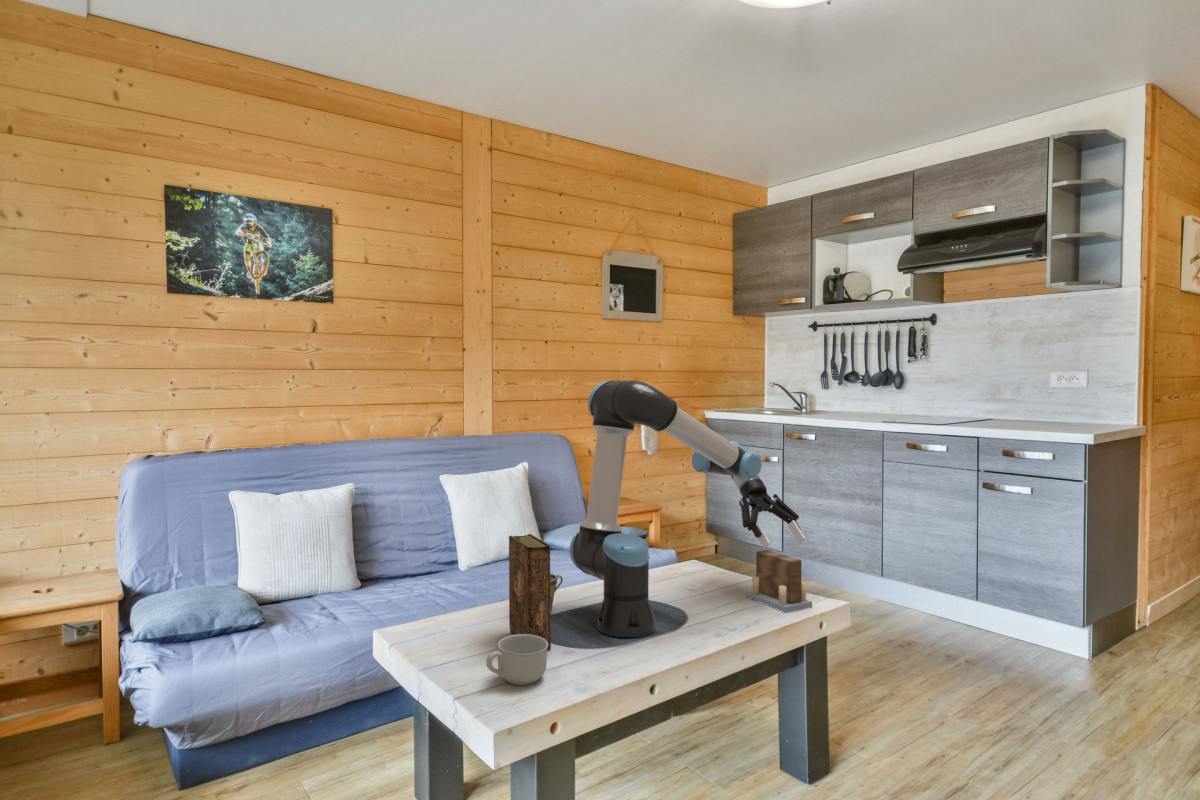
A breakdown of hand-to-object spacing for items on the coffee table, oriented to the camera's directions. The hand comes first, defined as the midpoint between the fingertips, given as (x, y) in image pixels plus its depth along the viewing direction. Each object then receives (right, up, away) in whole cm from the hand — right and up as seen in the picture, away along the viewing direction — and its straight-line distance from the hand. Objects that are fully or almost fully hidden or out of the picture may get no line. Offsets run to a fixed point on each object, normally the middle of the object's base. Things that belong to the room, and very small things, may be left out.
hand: (785, 543), depth 198 cm
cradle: (-1, -17, +2) cm, 17 cm away
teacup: (-71, -19, -51) cm, 89 cm away
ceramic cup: (-69, -18, -6) cm, 71 cm away
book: (-70, -18, -28) cm, 78 cm away
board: (-1, -16, +2) cm, 16 cm away
